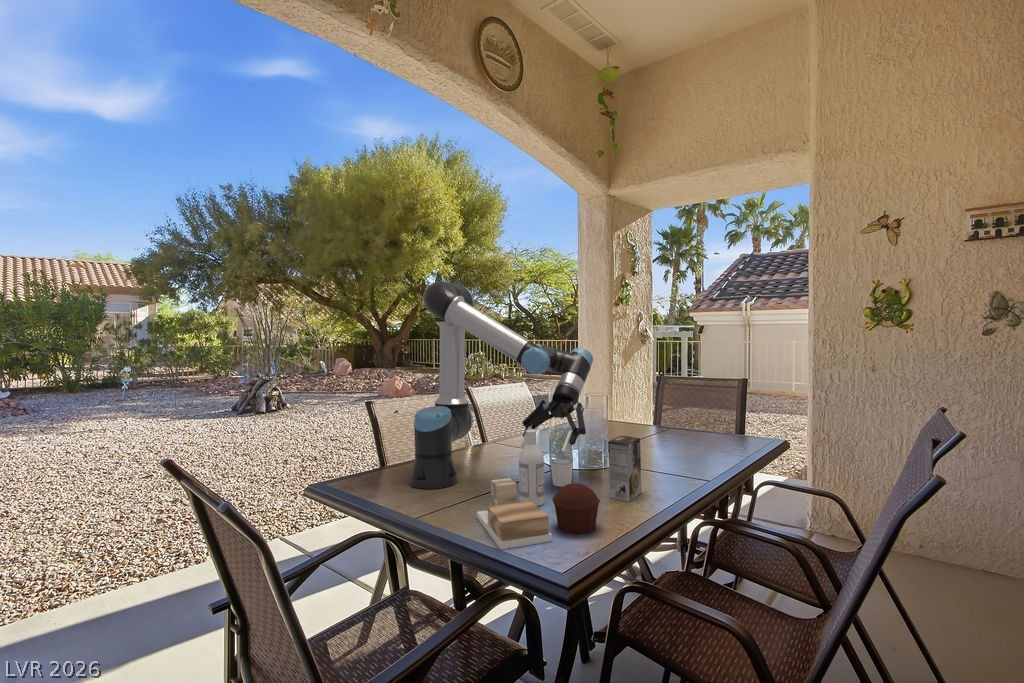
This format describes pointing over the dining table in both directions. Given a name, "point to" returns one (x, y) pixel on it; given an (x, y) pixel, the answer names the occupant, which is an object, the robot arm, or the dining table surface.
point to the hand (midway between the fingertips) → (543, 450)
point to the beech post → (503, 492)
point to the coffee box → (624, 468)
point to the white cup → (561, 472)
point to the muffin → (576, 509)
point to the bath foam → (531, 471)
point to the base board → (483, 519)
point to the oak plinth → (518, 520)
